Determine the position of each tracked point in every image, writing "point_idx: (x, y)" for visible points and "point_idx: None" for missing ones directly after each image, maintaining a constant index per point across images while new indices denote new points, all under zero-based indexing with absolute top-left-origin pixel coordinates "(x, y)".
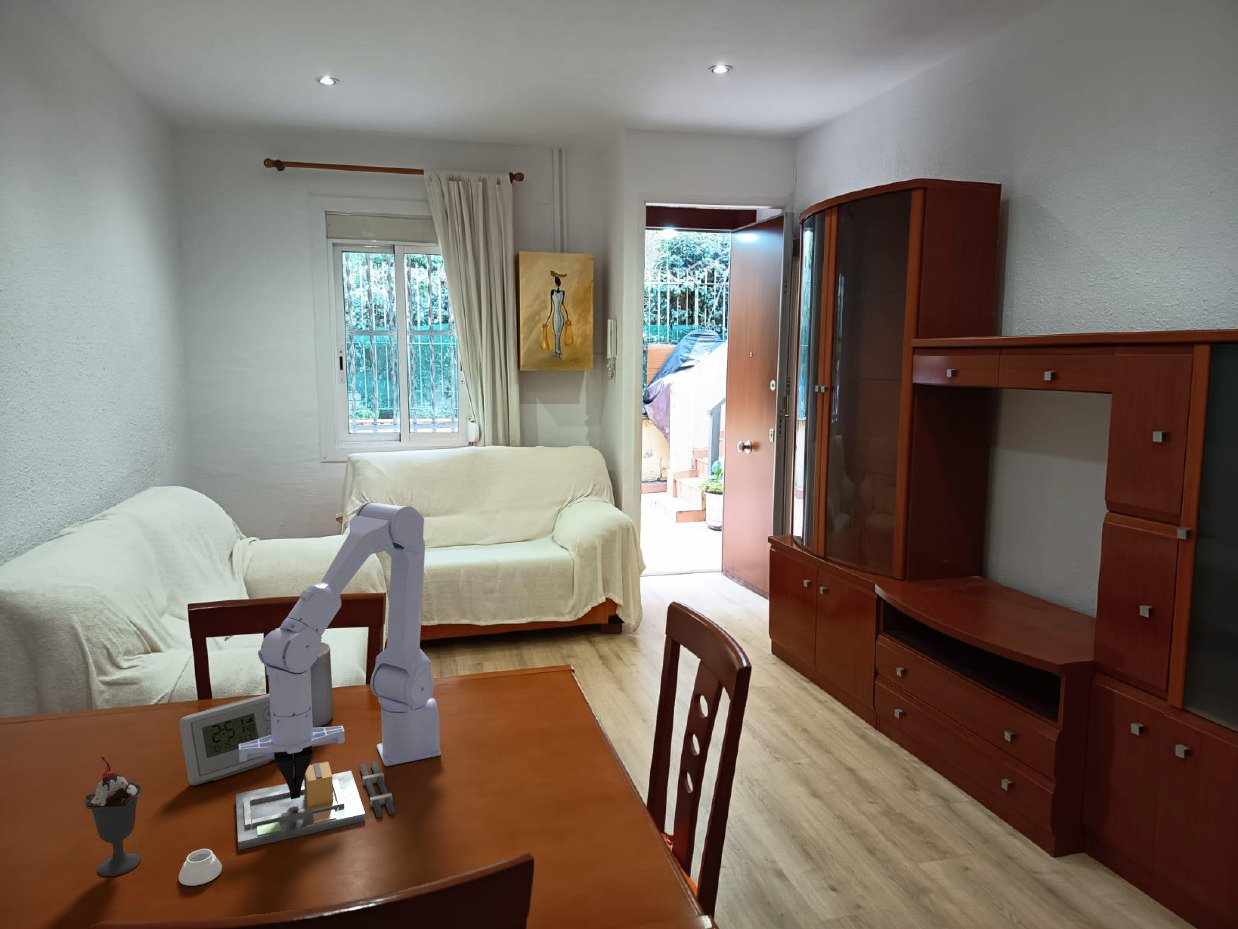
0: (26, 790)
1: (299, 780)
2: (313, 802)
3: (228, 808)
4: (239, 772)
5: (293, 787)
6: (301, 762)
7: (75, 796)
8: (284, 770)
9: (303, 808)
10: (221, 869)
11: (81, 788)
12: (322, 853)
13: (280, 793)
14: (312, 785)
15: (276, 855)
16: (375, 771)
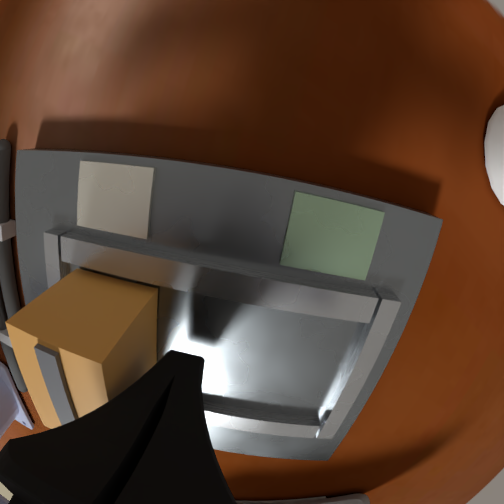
0: (472, 493)
1: (138, 398)
2: (127, 294)
3: (352, 430)
4: (277, 500)
5: (179, 385)
6: (63, 471)
7: (462, 485)
8: (200, 484)
9: (171, 308)
10: (488, 129)
11: (447, 496)
12: (188, 19)
13: (228, 418)
14: (90, 338)
15: (334, 91)
16: (8, 355)
